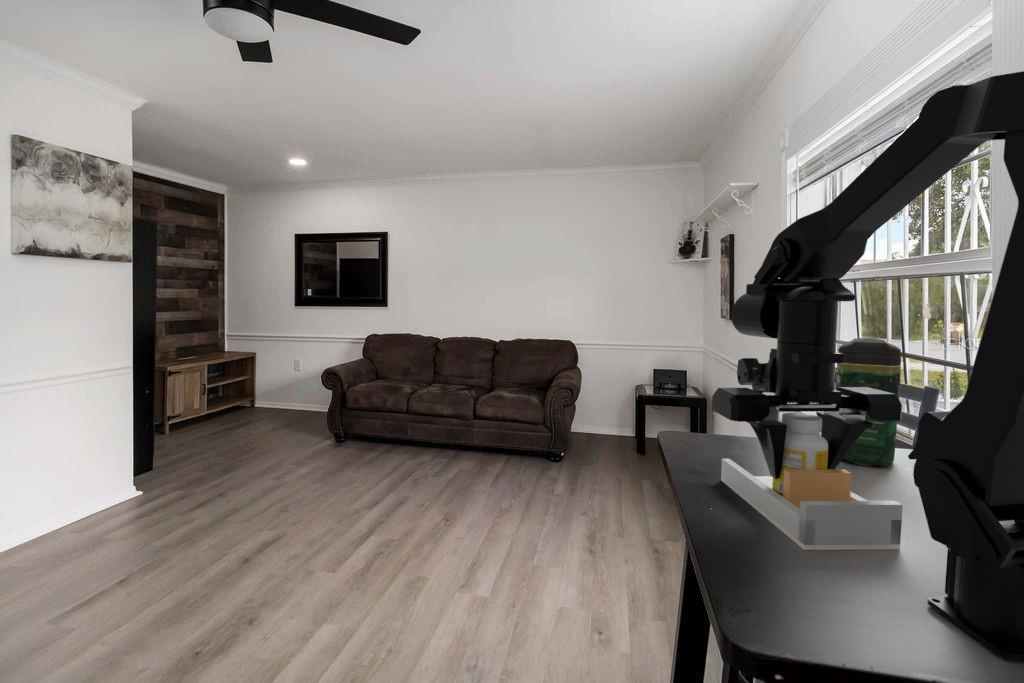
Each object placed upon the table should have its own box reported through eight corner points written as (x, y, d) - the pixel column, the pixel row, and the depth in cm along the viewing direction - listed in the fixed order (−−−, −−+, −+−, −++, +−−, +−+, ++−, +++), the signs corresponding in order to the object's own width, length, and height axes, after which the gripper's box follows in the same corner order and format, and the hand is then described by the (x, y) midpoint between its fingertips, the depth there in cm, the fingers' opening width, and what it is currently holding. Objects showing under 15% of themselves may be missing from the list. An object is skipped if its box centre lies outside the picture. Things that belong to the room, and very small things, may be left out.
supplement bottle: (814, 492, 60) (818, 412, 59) (833, 511, 55) (839, 423, 54) (765, 488, 61) (769, 409, 60) (780, 507, 56) (784, 421, 55)
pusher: (849, 518, 54) (851, 472, 54) (788, 518, 54) (790, 473, 53) (841, 513, 55) (843, 469, 55) (782, 513, 55) (784, 469, 55)
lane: (899, 549, 49) (902, 504, 48) (804, 550, 49) (806, 505, 48) (790, 479, 68) (791, 447, 67) (721, 480, 68) (722, 447, 67)
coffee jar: (897, 472, 71) (905, 341, 69) (831, 462, 75) (837, 339, 74) (892, 454, 79) (899, 337, 77) (833, 446, 83) (838, 335, 81)
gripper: (840, 336, 64) (834, 455, 66) (696, 337, 64) (692, 456, 65) (910, 344, 53) (901, 486, 54) (735, 345, 53) (730, 488, 54)
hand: (799, 477), depth 57 cm, fingers closed on supplement bottle, 5 cm apart
